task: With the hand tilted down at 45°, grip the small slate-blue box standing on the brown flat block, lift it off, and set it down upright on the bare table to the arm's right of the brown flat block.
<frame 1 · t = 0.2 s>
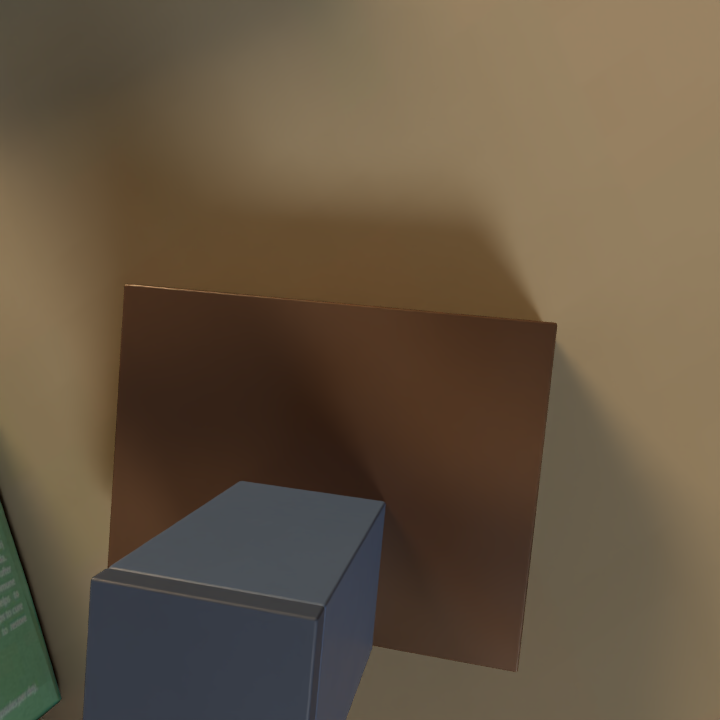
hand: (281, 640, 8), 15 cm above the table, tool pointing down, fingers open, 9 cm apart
small box: (305, 563, 21), point 3 cm above the table, touching brown flat block
brown flat block: (335, 451, 24), on the table, touching small box
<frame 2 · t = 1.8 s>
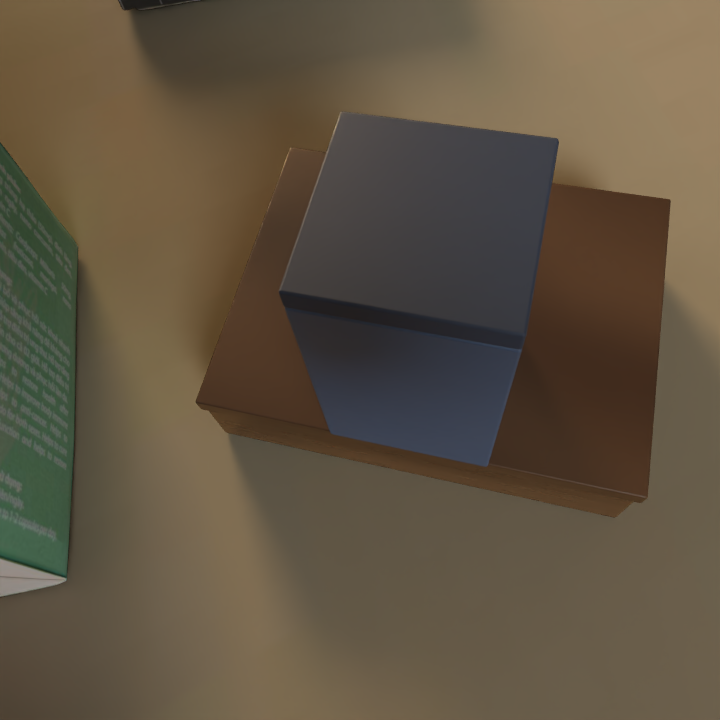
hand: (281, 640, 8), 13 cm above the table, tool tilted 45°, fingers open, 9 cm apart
small box: (423, 378, 20), point 3 cm above the table, touching brown flat block
brown flat block: (440, 339, 24), on the table, touching small box
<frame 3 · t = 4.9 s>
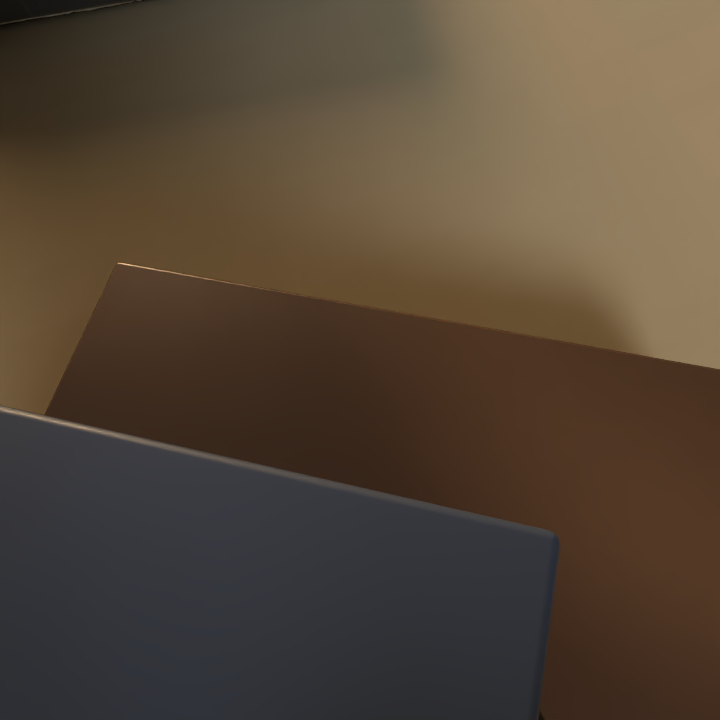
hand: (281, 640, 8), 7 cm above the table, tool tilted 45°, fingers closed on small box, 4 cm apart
brown flat block: (360, 588, 14), on the table, touching small box
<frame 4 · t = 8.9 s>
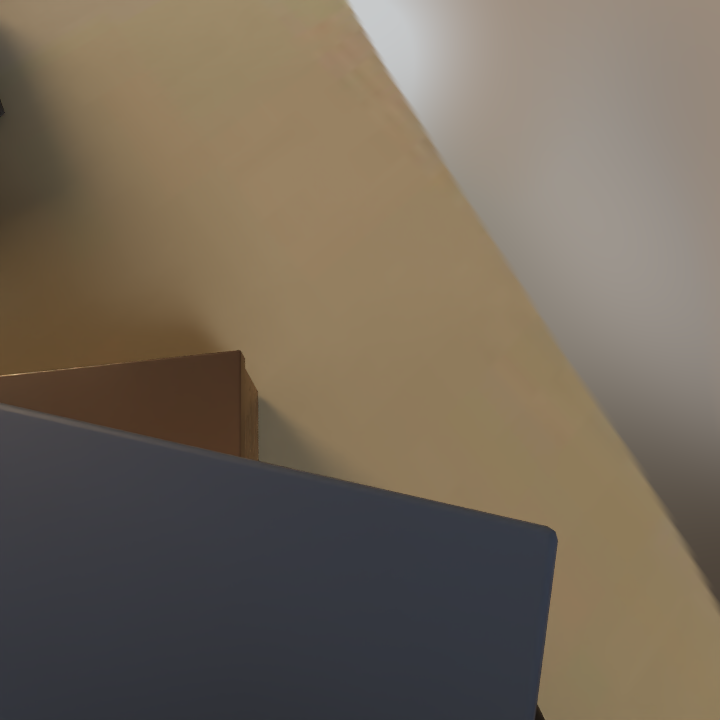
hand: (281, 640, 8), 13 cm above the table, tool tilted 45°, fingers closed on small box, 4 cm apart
brown flat block: (61, 551, 22), on the table
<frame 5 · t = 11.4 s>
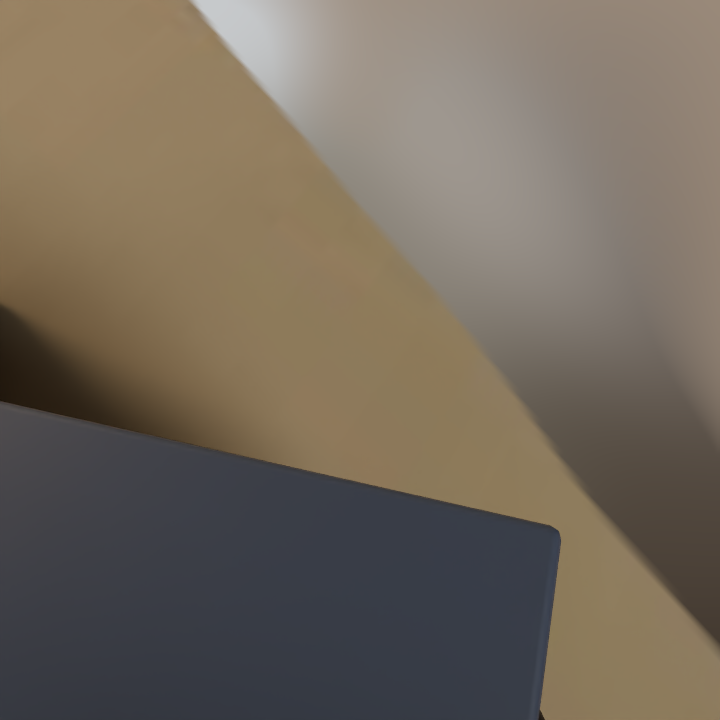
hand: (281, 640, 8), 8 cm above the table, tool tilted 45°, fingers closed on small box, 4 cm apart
when the fingers open (4 cm above the table, at t = 13.1 s): small box stays where it is, on the table.
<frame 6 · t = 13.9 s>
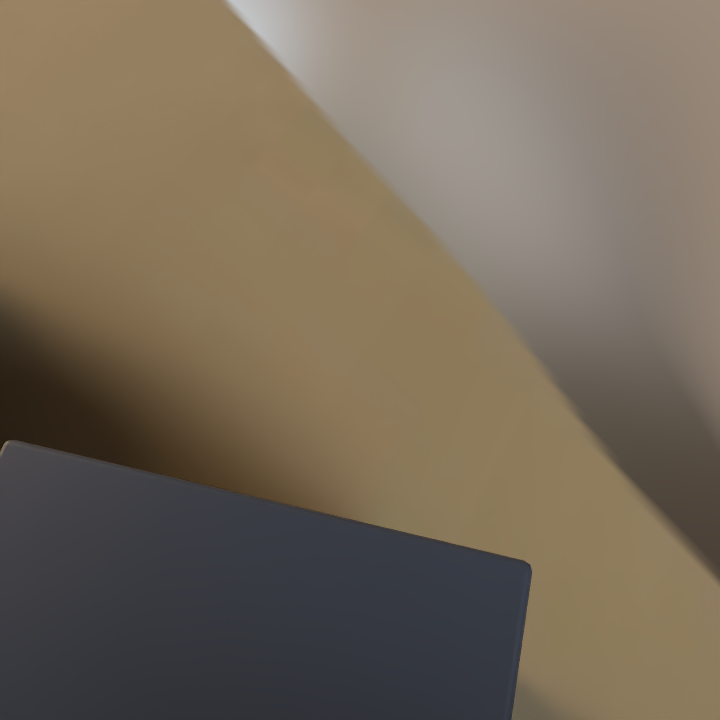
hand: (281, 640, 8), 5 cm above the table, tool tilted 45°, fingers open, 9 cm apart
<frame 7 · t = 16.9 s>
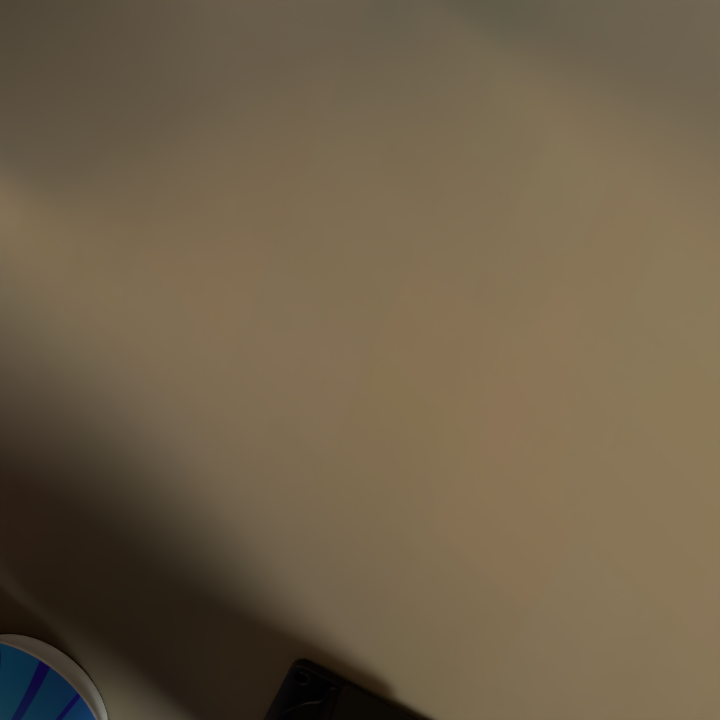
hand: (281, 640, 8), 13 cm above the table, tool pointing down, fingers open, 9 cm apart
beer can: (38, 699, 29), on the table
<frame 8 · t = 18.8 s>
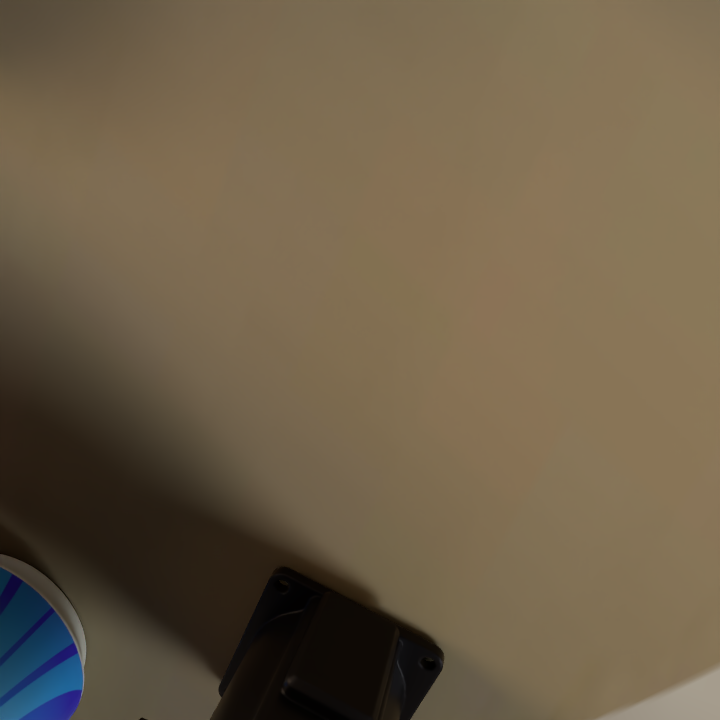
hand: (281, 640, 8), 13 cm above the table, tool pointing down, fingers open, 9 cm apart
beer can: (14, 621, 28), on the table
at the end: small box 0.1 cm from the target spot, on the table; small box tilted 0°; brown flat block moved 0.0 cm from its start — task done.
